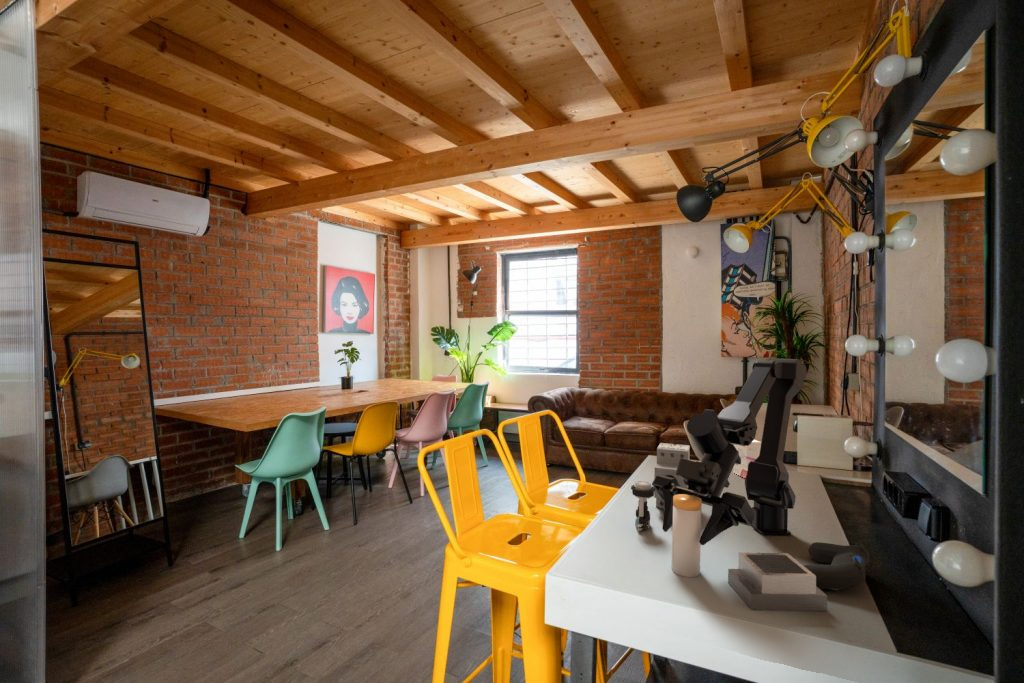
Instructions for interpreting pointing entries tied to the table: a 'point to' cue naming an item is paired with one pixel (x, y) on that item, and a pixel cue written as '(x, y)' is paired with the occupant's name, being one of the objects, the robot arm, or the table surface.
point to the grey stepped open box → (776, 583)
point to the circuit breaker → (670, 464)
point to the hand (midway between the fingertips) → (682, 537)
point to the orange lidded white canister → (686, 535)
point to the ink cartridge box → (746, 457)
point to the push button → (642, 503)
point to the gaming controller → (838, 565)
